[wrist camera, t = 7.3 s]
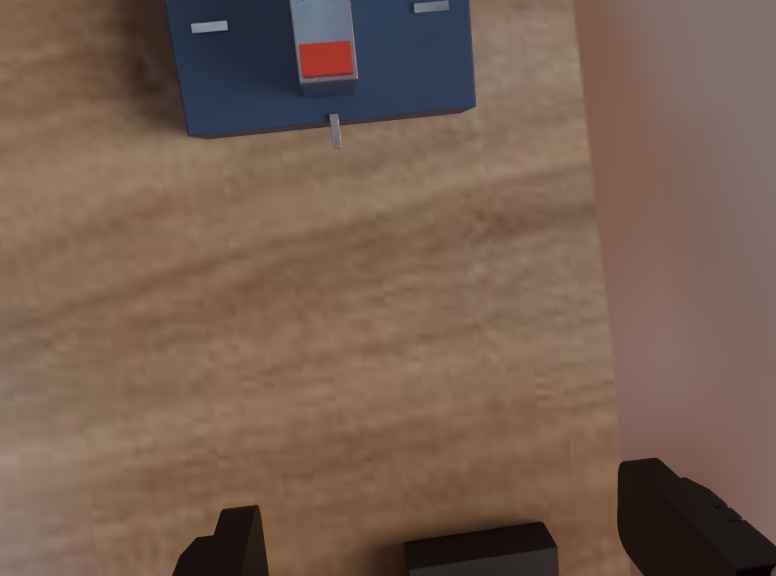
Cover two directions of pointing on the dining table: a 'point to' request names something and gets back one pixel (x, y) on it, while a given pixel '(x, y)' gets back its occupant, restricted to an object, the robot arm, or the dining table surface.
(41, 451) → the dining table surface
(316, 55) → the toggle switch lever
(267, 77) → the toggle switch base
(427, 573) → the button housing
